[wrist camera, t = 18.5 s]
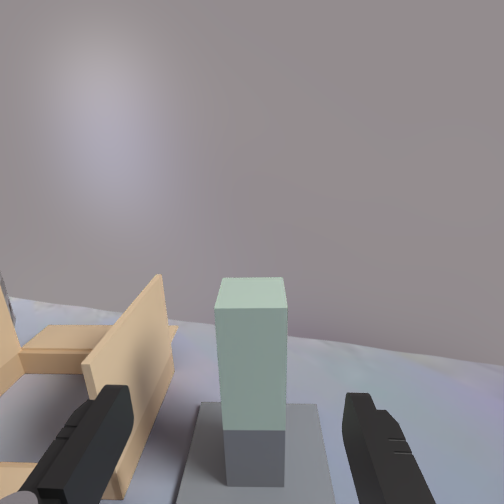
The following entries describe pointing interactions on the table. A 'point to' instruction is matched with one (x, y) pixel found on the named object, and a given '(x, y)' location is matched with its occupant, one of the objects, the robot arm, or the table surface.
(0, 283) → the coffee box
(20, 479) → the carton
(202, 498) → the mat
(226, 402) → the box
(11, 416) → the table surface
